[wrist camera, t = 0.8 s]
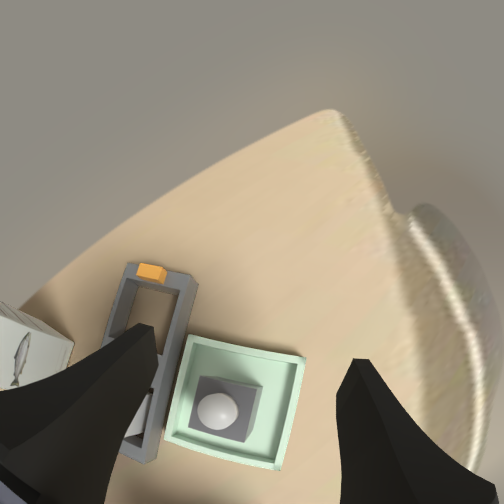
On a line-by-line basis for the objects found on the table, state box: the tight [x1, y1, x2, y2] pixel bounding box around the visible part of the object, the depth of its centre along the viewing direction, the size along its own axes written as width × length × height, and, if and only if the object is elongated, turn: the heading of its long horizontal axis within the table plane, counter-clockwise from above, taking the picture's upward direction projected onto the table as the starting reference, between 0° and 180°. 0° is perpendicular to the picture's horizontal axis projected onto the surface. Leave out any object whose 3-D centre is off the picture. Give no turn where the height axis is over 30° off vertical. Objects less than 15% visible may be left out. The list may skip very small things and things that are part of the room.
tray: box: [164, 334, 306, 471], centre depth 20 cm, size 10×10×2 cm
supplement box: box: [0, 301, 74, 390], centre depth 19 cm, size 7×7×13 cm
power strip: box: [101, 263, 199, 464], centre depth 22 cm, size 18×7×4 cm, turn 168°
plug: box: [188, 375, 263, 443], centre depth 18 cm, size 4×4×6 cm
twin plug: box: [124, 392, 153, 437], centre depth 19 cm, size 4×4×6 cm
